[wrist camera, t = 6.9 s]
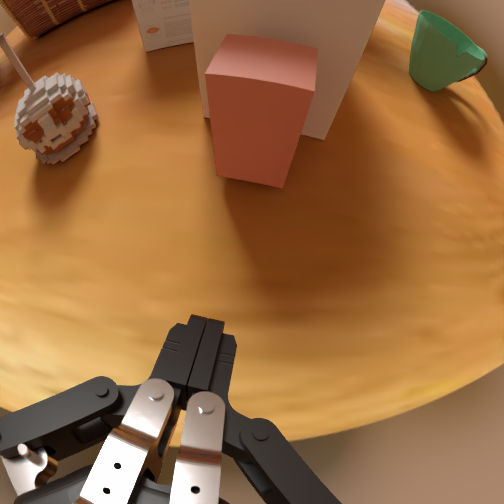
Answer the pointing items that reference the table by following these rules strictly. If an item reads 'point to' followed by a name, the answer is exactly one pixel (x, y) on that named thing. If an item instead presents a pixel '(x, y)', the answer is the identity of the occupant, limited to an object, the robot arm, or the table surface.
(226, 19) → the box
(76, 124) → the decorative ornament
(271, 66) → the key
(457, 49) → the mug
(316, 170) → the table surface
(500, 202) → the table surface
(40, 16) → the picnic basket
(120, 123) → the table surface
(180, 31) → the small box
